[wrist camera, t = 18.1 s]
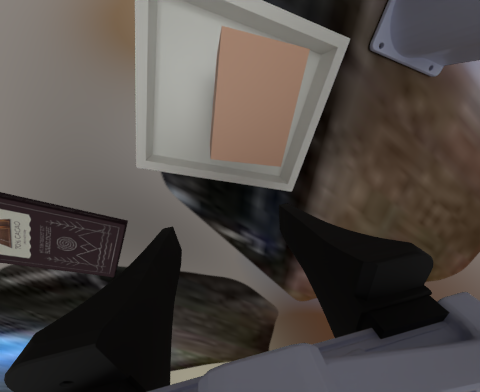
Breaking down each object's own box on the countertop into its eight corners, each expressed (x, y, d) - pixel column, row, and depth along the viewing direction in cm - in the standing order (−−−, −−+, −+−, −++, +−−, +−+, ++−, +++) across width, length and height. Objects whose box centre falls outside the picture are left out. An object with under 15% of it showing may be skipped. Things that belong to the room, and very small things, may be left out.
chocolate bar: (113, 277, 25) (-81, 252, 19) (116, 271, 26) (-69, 246, 20) (125, 224, 22) (-104, 176, 16) (128, 220, 22) (-88, 172, 17)
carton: (276, 69, 12) (309, 49, 8) (260, 150, 14) (280, 166, 10) (216, 55, 11) (221, 25, 7) (209, 144, 14) (210, 159, 10)
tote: (328, 48, 17) (350, 38, 15) (281, 181, 23) (291, 191, 20) (148, -24, 13) (134, -56, 11) (145, 158, 19) (136, 167, 16)
